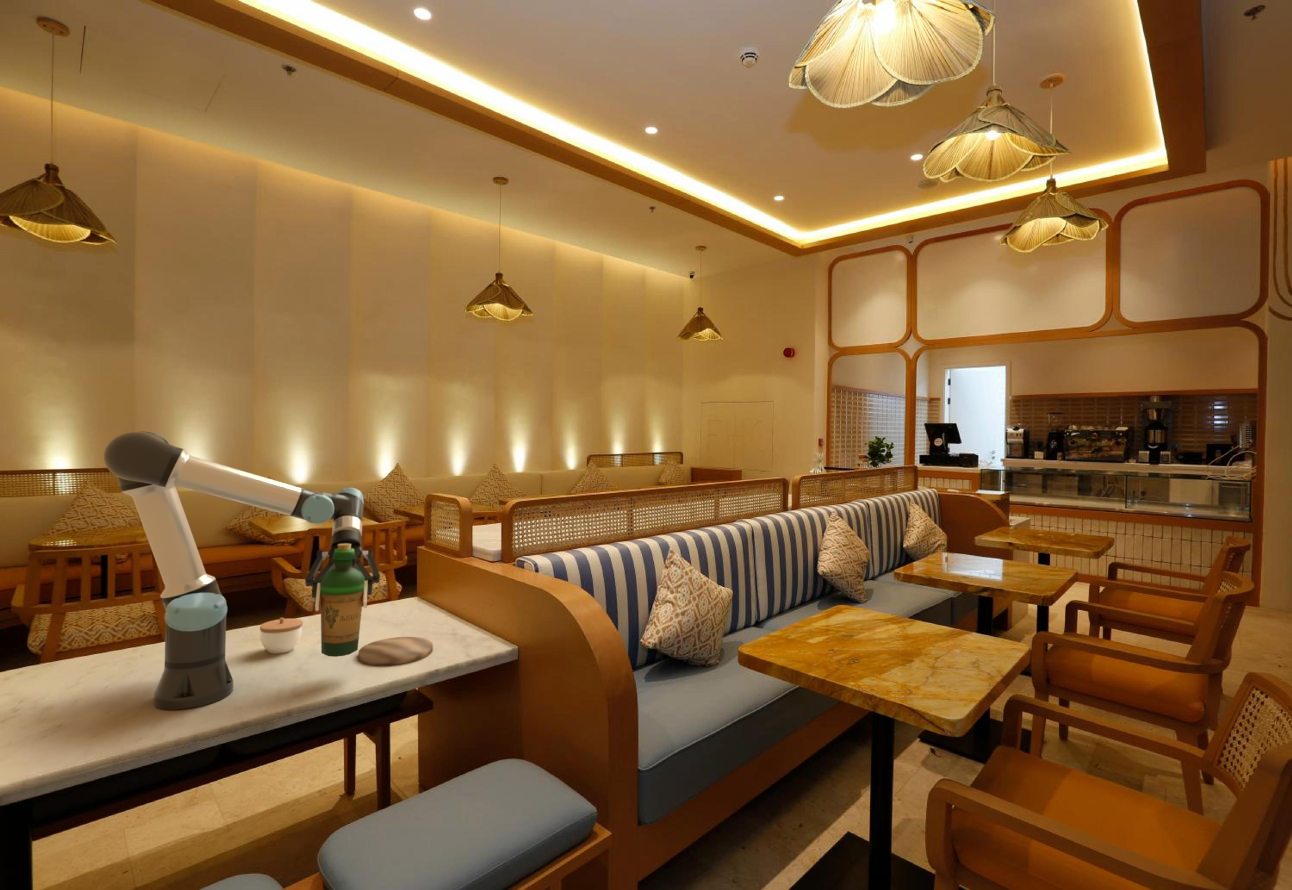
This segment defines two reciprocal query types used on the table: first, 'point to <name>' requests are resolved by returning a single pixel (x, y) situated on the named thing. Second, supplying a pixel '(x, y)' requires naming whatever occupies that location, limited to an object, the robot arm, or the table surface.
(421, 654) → the serving board
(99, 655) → the table surface
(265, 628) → the lidded jar
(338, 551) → the bottle
